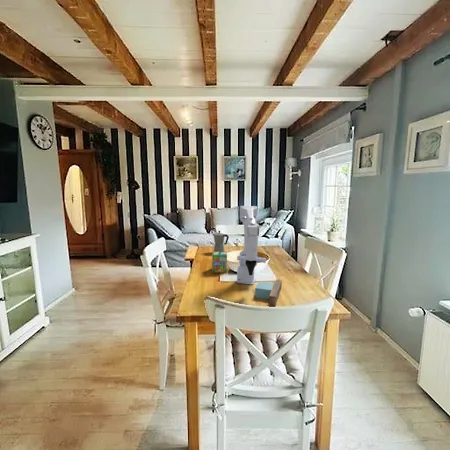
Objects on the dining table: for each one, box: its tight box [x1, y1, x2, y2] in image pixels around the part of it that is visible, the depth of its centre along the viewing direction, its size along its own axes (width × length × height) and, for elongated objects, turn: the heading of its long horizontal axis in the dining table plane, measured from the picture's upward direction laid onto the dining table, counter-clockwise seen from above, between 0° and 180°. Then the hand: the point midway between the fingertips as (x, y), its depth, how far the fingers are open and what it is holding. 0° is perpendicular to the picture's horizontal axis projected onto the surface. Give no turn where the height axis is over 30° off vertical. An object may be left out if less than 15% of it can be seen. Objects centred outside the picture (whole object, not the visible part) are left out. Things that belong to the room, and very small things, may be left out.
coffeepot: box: [212, 230, 229, 252], centre depth 225 cm, size 15×9×18 cm, turn 59°
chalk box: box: [211, 249, 228, 274], centre depth 177 cm, size 9×9×15 cm
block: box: [254, 281, 275, 300], centre depth 140 cm, size 8×10×5 cm
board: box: [268, 279, 283, 307], centre depth 139 cm, size 3×24×4 cm, turn 162°
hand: (250, 274), depth 142 cm, fingers closed
